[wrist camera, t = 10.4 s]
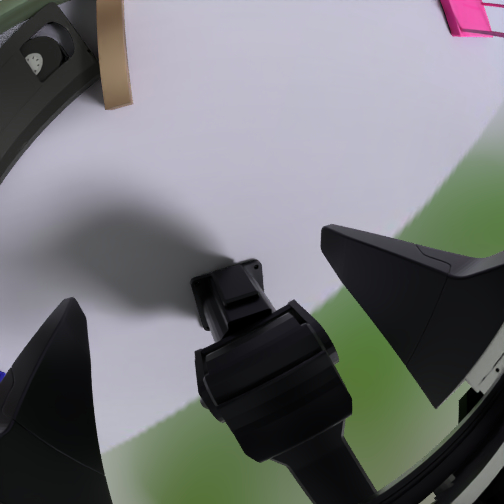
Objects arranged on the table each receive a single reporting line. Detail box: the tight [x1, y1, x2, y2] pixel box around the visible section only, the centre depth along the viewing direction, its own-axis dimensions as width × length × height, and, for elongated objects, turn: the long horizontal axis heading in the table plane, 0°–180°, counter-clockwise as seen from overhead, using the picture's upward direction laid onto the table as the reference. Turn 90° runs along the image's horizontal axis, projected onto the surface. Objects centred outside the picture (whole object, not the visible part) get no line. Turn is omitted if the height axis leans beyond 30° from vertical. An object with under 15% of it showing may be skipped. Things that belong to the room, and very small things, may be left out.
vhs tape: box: [0, 2, 101, 184], centre depth 10 cm, size 14×8×2 cm, turn 120°
